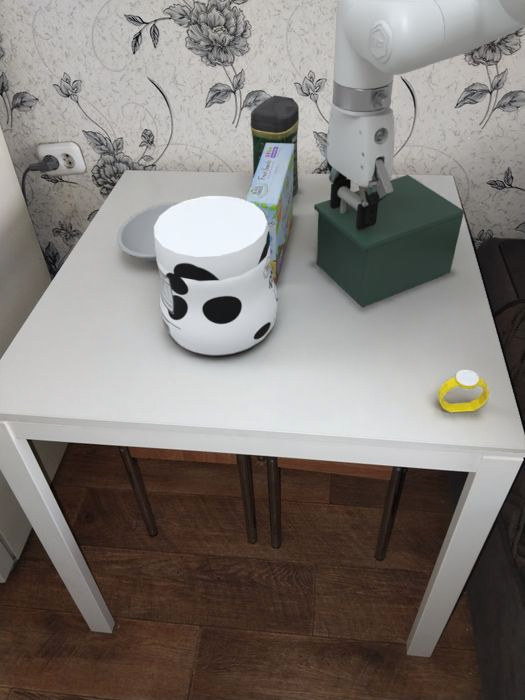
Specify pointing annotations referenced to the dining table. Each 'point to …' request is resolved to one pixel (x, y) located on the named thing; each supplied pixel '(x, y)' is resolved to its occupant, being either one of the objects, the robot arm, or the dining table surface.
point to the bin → (386, 260)
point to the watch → (465, 381)
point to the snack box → (275, 197)
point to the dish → (141, 232)
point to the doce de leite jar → (215, 274)
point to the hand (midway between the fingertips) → (352, 214)
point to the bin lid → (390, 212)
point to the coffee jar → (275, 128)
